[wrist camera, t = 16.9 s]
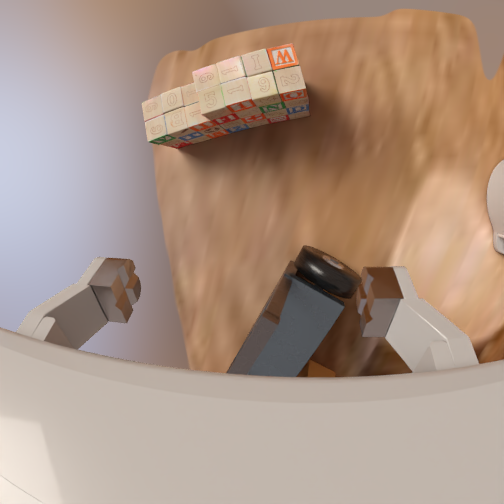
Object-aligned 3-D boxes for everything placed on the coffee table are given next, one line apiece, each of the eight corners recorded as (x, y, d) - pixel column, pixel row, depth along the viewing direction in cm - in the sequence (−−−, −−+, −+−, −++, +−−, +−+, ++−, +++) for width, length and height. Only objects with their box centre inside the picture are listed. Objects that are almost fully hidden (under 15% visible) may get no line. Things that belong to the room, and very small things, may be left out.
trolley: (359, 268, 43) (392, 338, 21) (289, 374, 49) (263, 480, 26) (303, 236, 44) (283, 278, 22) (239, 347, 50) (184, 441, 27)
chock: (335, 372, 47) (335, 400, 39) (318, 392, 48) (316, 421, 41) (309, 359, 48) (306, 386, 40) (294, 380, 49) (288, 408, 41)
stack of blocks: (176, 150, 46) (134, 139, 35) (170, 115, 46) (128, 96, 34) (311, 115, 41) (307, 88, 29) (301, 78, 40) (293, 41, 28)
